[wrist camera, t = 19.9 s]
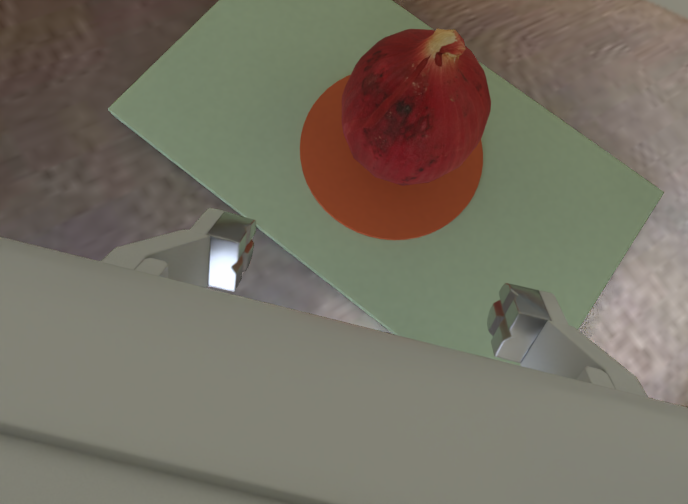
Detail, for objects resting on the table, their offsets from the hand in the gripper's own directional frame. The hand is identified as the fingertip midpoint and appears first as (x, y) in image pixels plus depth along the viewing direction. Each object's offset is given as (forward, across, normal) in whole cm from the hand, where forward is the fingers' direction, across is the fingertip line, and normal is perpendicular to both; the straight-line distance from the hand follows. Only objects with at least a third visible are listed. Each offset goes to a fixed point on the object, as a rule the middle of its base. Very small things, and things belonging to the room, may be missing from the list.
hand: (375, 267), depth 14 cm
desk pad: (+10, 0, 0) cm, 10 cm away
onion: (+9, 0, -1) cm, 9 cm away
